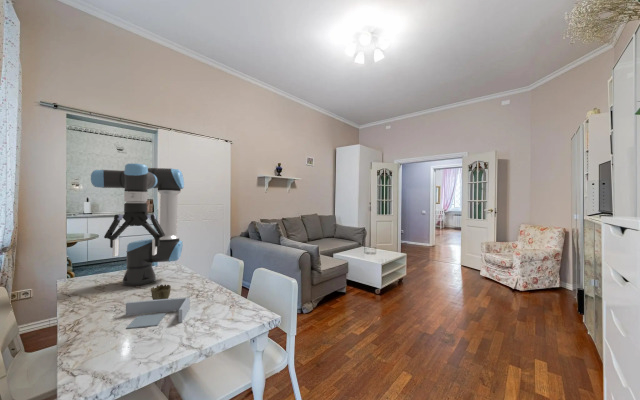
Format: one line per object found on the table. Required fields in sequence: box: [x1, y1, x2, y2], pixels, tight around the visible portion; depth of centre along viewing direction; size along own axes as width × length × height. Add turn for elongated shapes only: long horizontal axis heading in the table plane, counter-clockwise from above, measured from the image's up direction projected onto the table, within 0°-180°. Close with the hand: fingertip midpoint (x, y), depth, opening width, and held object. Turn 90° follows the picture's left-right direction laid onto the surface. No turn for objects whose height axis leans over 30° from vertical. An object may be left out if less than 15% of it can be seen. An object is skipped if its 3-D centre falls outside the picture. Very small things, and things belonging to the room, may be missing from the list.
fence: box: [125, 296, 191, 324], centre depth 99 cm, size 13×23×5 cm, turn 105°
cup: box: [150, 284, 172, 300], centre depth 111 cm, size 8×7×8 cm
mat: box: [125, 312, 167, 330], centre depth 97 cm, size 10×10×1 cm
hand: (135, 255), depth 101 cm, fingers open, 13 cm apart
